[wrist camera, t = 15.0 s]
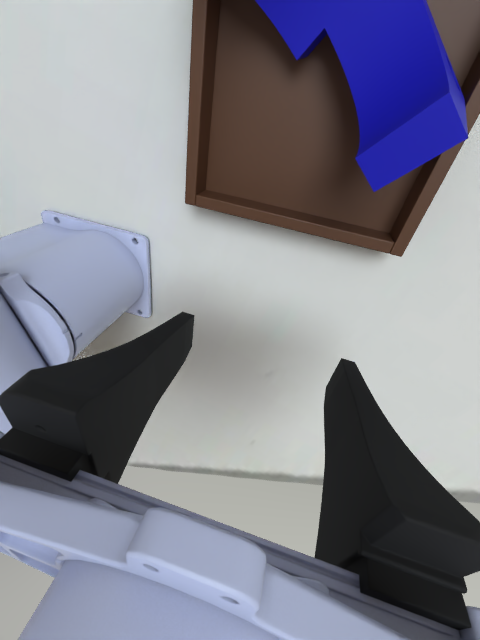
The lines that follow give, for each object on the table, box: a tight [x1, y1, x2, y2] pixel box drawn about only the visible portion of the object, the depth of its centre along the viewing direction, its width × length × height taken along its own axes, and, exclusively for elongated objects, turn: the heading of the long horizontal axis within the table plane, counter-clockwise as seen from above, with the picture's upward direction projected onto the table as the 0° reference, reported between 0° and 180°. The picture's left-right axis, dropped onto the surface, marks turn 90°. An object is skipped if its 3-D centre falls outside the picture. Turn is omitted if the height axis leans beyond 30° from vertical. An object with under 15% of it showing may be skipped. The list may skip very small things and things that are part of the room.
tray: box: [185, 0, 480, 257], centre depth 13 cm, size 13×16×2 cm
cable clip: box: [255, 0, 468, 192], centre depth 10 cm, size 12×4×6 cm, turn 41°
